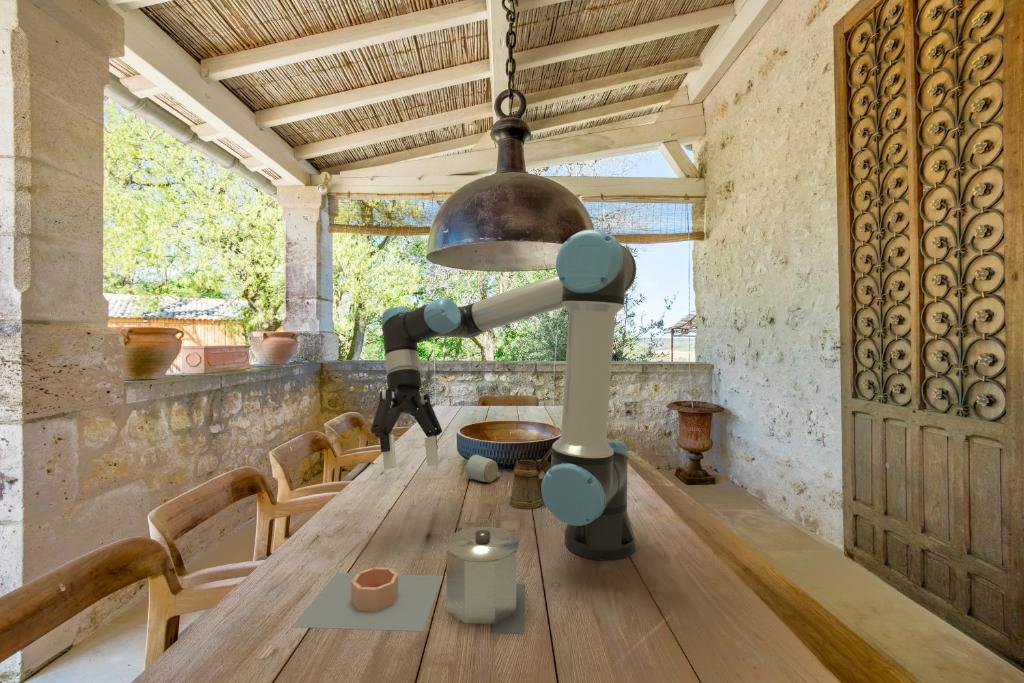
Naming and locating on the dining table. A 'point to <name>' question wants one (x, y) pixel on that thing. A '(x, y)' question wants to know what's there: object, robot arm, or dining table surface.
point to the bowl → (374, 589)
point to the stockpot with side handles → (481, 575)
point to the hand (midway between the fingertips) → (413, 467)
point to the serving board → (401, 616)
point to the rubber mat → (517, 621)
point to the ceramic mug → (482, 469)
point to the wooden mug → (528, 483)
